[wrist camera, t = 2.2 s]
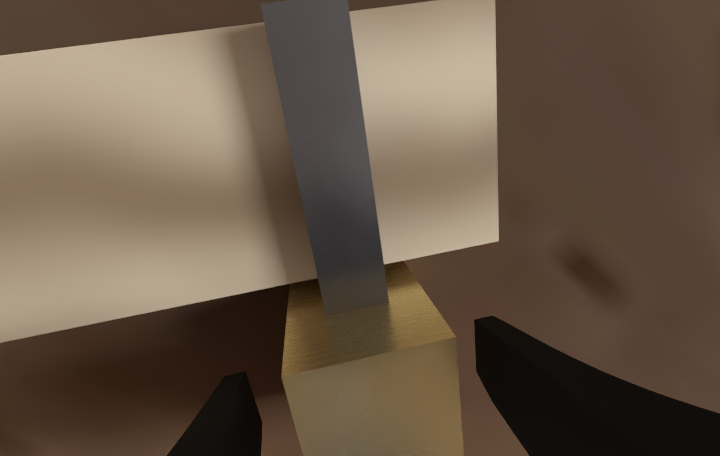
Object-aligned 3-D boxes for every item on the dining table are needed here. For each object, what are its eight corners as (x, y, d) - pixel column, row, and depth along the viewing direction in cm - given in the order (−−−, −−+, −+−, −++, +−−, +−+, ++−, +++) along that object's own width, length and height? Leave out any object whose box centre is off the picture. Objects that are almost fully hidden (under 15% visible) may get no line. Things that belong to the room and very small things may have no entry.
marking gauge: (412, 364, 14) (465, 486, 9) (316, 386, 14) (323, 526, 9) (371, 23, 10) (429, -59, 5) (233, 41, 10) (167, -31, 5)
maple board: (476, 227, 13) (500, 242, 11) (-446, 410, 10) (-582, 463, 8) (468, 10, 10) (496, -8, 9) (-736, 167, 8) (-997, 180, 6)
